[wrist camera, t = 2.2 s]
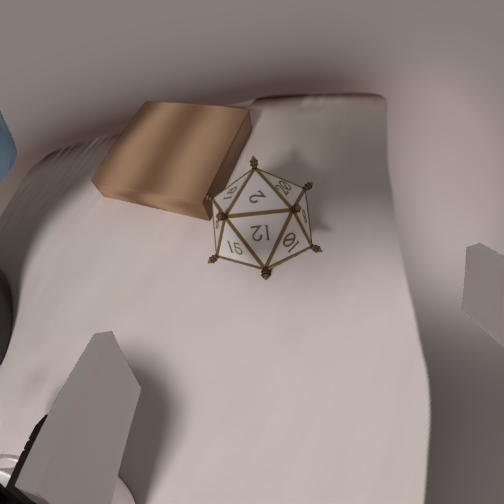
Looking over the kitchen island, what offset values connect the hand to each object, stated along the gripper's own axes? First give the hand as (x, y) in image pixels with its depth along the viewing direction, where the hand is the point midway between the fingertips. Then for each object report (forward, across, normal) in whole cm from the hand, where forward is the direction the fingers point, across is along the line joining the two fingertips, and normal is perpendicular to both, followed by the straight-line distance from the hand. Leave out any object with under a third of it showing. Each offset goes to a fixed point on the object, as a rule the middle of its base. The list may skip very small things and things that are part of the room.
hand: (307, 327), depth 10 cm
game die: (+17, 0, -3) cm, 17 cm away
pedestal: (+26, -7, +6) cm, 27 cm away
